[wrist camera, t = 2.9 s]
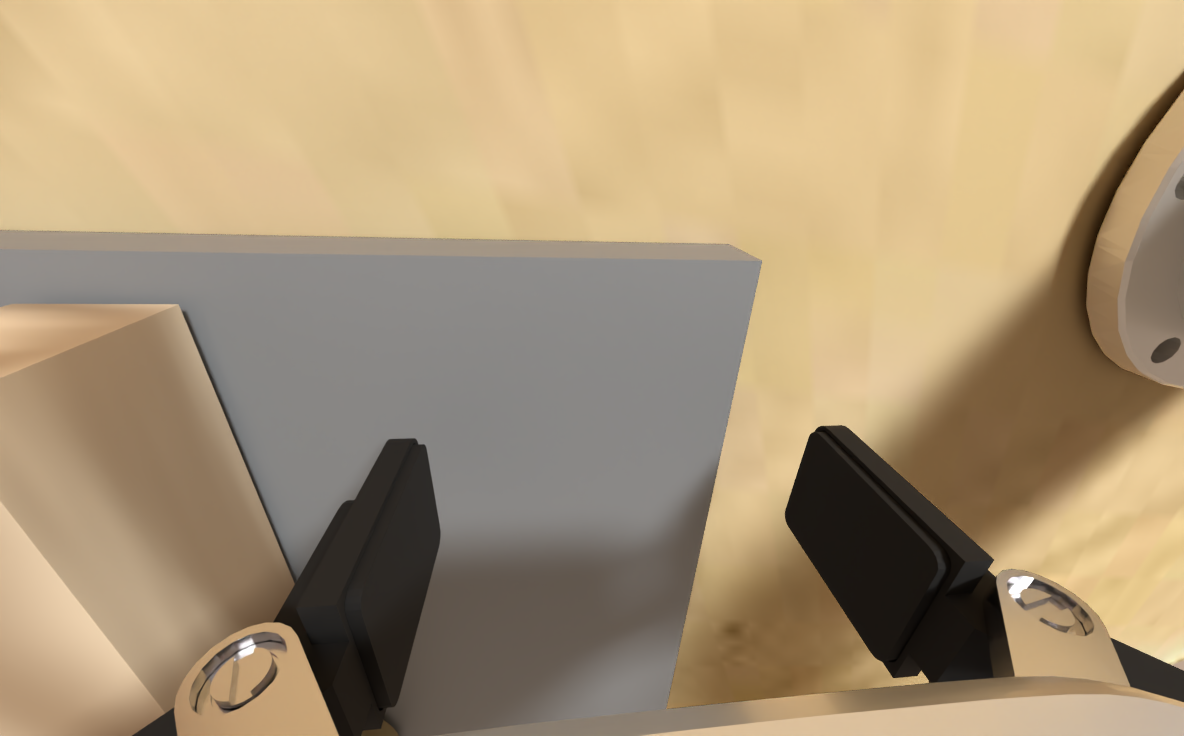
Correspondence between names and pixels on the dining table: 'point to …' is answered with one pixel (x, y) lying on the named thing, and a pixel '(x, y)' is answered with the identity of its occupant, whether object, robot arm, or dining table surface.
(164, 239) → the dial board
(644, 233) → the dining table surface
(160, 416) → the beige elongated piece
